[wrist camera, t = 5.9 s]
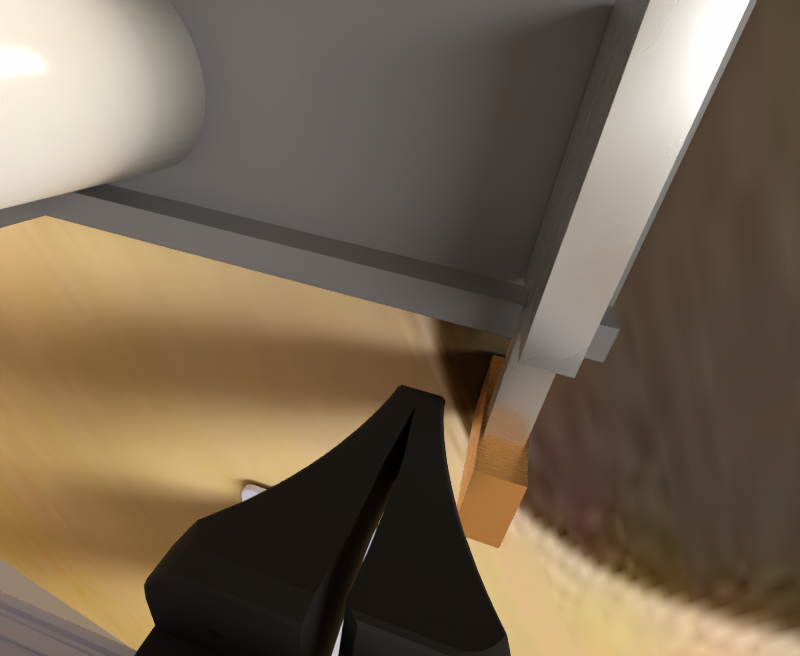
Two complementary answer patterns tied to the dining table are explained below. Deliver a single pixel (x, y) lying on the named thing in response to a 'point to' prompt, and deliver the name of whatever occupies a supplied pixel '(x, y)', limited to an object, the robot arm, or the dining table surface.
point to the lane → (375, 149)
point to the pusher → (591, 228)
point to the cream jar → (93, 94)
